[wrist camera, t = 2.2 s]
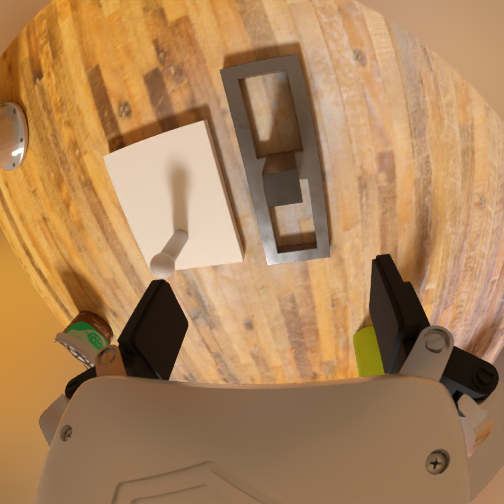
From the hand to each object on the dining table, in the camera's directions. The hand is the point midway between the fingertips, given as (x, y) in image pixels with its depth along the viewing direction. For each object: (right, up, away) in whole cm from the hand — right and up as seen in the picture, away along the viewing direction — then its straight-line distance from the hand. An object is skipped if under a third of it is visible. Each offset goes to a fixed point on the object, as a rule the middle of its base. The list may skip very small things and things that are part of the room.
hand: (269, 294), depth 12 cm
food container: (-33, -13, +38) cm, 52 cm away
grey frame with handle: (+3, +11, +17) cm, 21 cm away
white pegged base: (-10, +8, +21) cm, 25 cm away
